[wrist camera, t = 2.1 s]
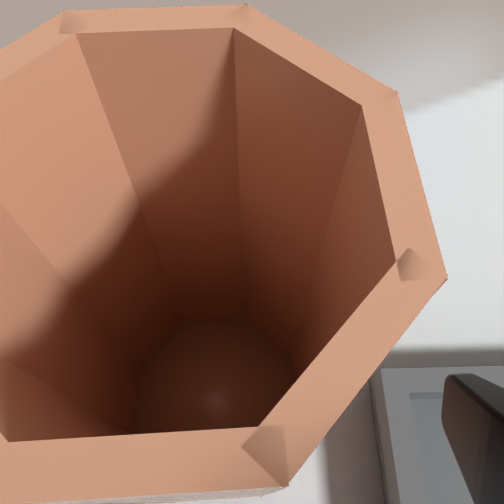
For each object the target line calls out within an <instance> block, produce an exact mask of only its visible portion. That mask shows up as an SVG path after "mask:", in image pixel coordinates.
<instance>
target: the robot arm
mask: <svg viewBox="0 0 504 504" xmlns="http://www.w3.org/2000/svg"><path fill="white" fill-rule="evenodd" d="M441 420H442V425H443V429H444V431H445V434H446V436H447V439H448V441H449V444H450V446H451V449H452V451H453V453H454V456H455V458H456V461H457V463H458V466H459V468H460V471H461V473H462V476H463V478H464V480H465V483H466V485H467V488H468V490H469V493H470V495H471V498H472V500H473V502H474V504H504V388H503V387H501V386H499V385H497V384H494V383H492V382H490V381H488V380H486V379H484V378H482V377H479V376H477V375H475V374H473V373H455V374H449V375H448V376H447V377H446V379H445V382H444V390H443V400H442V410H441Z"/></svg>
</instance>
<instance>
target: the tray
mask: <svg viewBox="0 0 504 504" xmlns="http://www.w3.org/2000/svg"><path fill="white" fill-rule="evenodd" d="M455 373H473V374H475V375H477V376H479V377H482V378H484V379H486V380H488V381H490V382H492V383H494V384H497V385H499V386H501V387H503V388H504V366H461V367H418V368H380V369H379V370H378V371H377V373H376V374H375V375H374V376H373V377H372V378H371V379H370V380H369V387H370V395H371V402H372V410H373V417H374V424H375V432H376V439H377V447H378V454H379V461H380V469H381V476H382V484H383V491H384V499H385V504H474V502H473V500H472V498H471V495H470V493H469V490H468V488H467V485H466V483H465V480H464V478H463V476H462V473H461V471H460V468H459V466H458V463H457V461H456V458H455V456H454V453H453V451H452V449H451V446H450V444H449V441H448V439H447V436H446V434H445V431H444V429H443V425H442V420H441V410H442V400H443V390H444V382H445V379H446V377H447V376H448V375H449V374H455Z"/></svg>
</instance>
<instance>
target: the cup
mask: <svg viewBox="0 0 504 504" xmlns="http://www.w3.org/2000/svg"><path fill="white" fill-rule="evenodd" d="M447 276H448V274H446V271H445V267H444V263H443V259H442V256H441V252H440V248H439V245H438V241H437V237H436V234H435V230H434V226H433V223H432V219H431V215H430V211H429V208H428V204H427V200H426V197H425V193H424V189H423V186H422V182H421V178H420V175H419V171H418V167H417V163H416V160H415V156H414V152H413V149H412V145H411V141H410V138H409V134H408V130H407V127H406V123H405V119H404V115H403V112H402V108H401V105H400V101H399V97H398V92H397V91H395V90H393V89H391V88H389V87H388V86H386V85H384V84H383V83H381V82H379V81H377V80H376V79H374V78H372V77H371V76H369V75H367V74H365V73H364V72H362V71H360V70H359V69H357V68H355V67H353V66H352V65H350V64H348V63H346V62H345V61H343V60H341V59H340V58H338V57H336V56H334V55H333V54H331V53H329V52H328V51H326V50H324V49H322V48H321V47H319V46H317V45H316V44H314V43H312V42H310V41H309V40H307V39H305V38H304V37H302V36H300V35H298V34H297V33H295V32H293V31H291V30H290V29H288V28H286V27H285V26H283V25H281V24H279V23H278V22H276V21H274V20H272V19H271V18H269V17H267V16H266V15H264V14H262V13H261V12H259V11H257V10H255V9H254V8H252V7H250V6H248V4H236V5H208V6H180V7H156V8H155V7H152V8H125V9H97V10H70V11H67V10H65V11H63V12H62V13H60V14H58V15H57V16H55V17H54V18H52V19H50V20H49V21H47V22H45V23H44V24H42V25H41V26H39V27H37V28H36V29H34V30H32V31H31V32H29V33H27V34H26V35H24V36H22V37H21V38H19V39H17V40H16V41H14V42H13V43H11V44H9V45H8V46H6V47H5V48H3V49H1V50H0V504H147V503H176V502H182V501H197V500H212V499H227V498H242V497H257V496H259V497H261V496H264V495H267V494H270V493H273V492H276V491H279V490H282V489H284V488H285V487H288V486H289V482H290V481H291V479H292V478H293V477H294V475H295V474H296V473H297V471H298V470H299V469H300V468H301V466H302V465H303V464H304V462H305V461H306V460H307V458H308V457H309V456H310V455H311V453H312V452H313V451H314V449H315V448H316V447H317V445H318V444H319V443H320V442H321V440H322V439H323V438H324V436H325V435H326V434H327V432H328V431H329V430H330V429H331V427H332V426H333V425H334V423H335V422H336V421H337V419H338V418H339V417H340V415H341V414H342V413H343V412H344V410H345V409H346V408H347V406H348V405H349V404H350V402H351V401H352V400H353V399H354V397H355V396H356V395H357V393H358V392H359V391H360V389H361V388H362V387H363V386H364V384H365V383H366V382H367V380H368V379H369V378H370V376H371V375H372V374H373V373H374V371H375V370H376V369H377V367H378V366H379V365H380V363H381V362H382V361H383V360H384V358H385V357H386V356H387V354H388V353H389V352H390V350H391V349H392V348H393V347H394V345H395V344H396V343H397V341H398V340H399V339H400V337H401V336H402V335H403V333H404V332H405V331H406V330H407V328H408V327H409V326H410V324H411V323H412V322H413V320H414V319H415V318H416V317H417V315H418V314H419V313H420V311H421V310H422V309H423V307H424V306H425V305H426V304H427V302H428V301H429V300H430V298H431V297H432V296H433V295H434V294H435V293H436V291H437V290H438V289H439V288H440V287H441V286H442V285H443V284H444V282H445V281H446V280H447V279H448V278H447Z"/></svg>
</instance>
